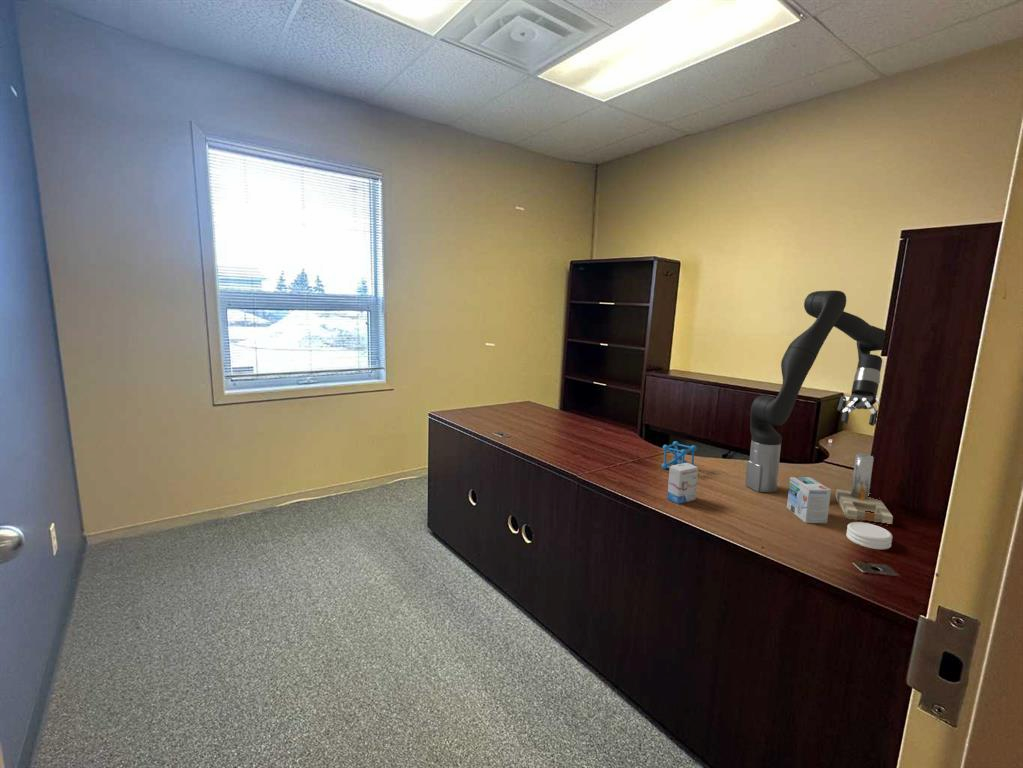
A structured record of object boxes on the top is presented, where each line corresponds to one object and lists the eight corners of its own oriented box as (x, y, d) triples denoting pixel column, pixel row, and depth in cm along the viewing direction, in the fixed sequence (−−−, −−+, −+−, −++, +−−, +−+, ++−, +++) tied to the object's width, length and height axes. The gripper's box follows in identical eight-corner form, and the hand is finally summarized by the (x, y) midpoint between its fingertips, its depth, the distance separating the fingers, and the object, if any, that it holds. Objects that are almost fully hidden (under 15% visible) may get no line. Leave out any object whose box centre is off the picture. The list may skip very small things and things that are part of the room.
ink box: (678, 504, 152) (680, 470, 150) (666, 499, 156) (668, 465, 155) (696, 499, 156) (698, 466, 154) (684, 494, 160) (686, 461, 158)
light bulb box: (785, 508, 150) (789, 476, 148) (807, 508, 149) (810, 476, 148) (805, 523, 139) (809, 489, 137) (828, 523, 139) (832, 489, 137)
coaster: (871, 532, 134) (872, 520, 133) (900, 550, 124) (902, 538, 124) (837, 532, 134) (838, 521, 133) (864, 550, 124) (866, 538, 123)
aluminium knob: (870, 501, 147) (876, 459, 145) (853, 499, 149) (858, 457, 147) (866, 495, 152) (871, 454, 150) (849, 492, 154) (854, 452, 152)
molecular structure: (683, 475, 178) (685, 450, 177) (660, 468, 186) (661, 444, 184) (696, 469, 185) (697, 445, 183) (673, 463, 192) (674, 440, 191)
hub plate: (891, 526, 137) (893, 516, 137) (846, 518, 142) (847, 509, 141) (875, 503, 153) (876, 494, 153) (835, 497, 158) (836, 488, 157)
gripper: (839, 378, 176) (831, 419, 173) (884, 378, 163) (875, 422, 160) (849, 385, 179) (841, 425, 176) (893, 386, 166) (885, 429, 164)
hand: (857, 424), depth 168 cm, fingers open, 8 cm apart
